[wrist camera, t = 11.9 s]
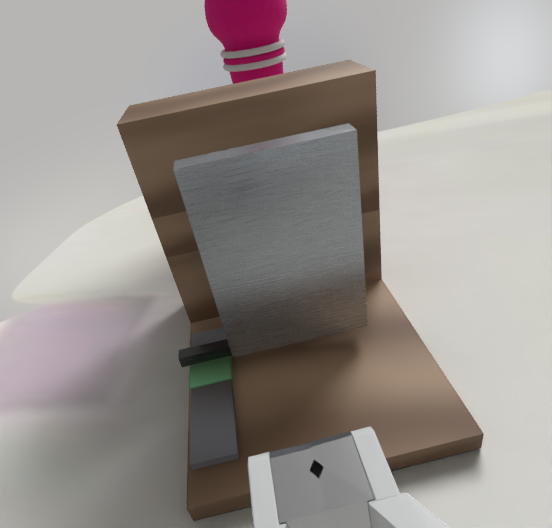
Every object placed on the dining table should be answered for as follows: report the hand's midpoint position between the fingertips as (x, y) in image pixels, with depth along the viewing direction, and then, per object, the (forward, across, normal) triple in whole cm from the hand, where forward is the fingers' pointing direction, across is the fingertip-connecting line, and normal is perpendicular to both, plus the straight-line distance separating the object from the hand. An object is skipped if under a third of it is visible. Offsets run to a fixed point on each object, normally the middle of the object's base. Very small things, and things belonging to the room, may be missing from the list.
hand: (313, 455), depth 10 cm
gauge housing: (+11, +1, -7) cm, 13 cm away
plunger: (+16, -1, -5) cm, 16 cm away
